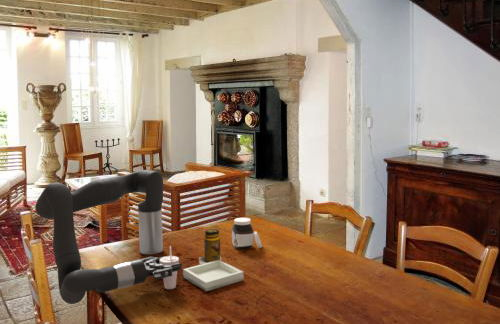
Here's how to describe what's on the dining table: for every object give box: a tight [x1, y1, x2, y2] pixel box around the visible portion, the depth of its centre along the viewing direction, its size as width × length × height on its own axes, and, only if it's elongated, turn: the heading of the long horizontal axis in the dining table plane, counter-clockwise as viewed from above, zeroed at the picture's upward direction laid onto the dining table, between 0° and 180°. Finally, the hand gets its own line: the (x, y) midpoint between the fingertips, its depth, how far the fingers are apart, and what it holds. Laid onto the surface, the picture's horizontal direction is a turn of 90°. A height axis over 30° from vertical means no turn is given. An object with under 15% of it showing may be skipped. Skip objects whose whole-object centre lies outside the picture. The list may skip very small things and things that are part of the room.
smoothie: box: [159, 245, 180, 290], centre depth 156 cm, size 6×6×14 cm
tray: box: [182, 259, 244, 292], centre depth 163 cm, size 15×15×3 cm
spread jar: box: [231, 217, 263, 250], centre depth 197 cm, size 12×11×12 cm
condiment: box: [198, 228, 222, 265], centre depth 181 cm, size 7×8×12 cm
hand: (174, 262), depth 157 cm, fingers open, 8 cm apart
